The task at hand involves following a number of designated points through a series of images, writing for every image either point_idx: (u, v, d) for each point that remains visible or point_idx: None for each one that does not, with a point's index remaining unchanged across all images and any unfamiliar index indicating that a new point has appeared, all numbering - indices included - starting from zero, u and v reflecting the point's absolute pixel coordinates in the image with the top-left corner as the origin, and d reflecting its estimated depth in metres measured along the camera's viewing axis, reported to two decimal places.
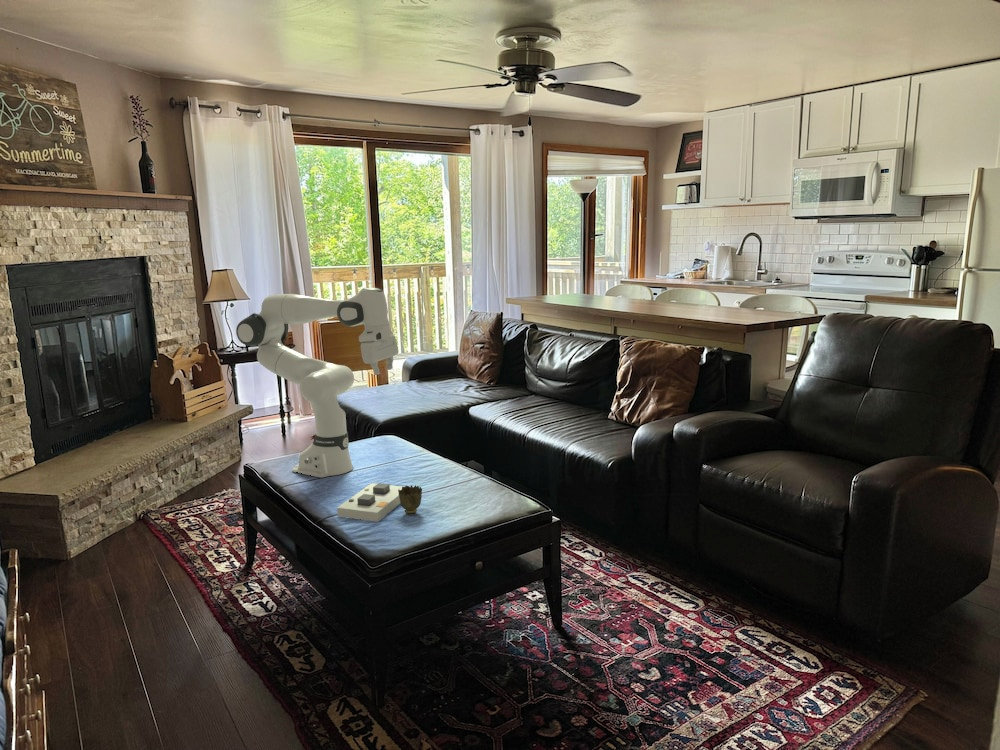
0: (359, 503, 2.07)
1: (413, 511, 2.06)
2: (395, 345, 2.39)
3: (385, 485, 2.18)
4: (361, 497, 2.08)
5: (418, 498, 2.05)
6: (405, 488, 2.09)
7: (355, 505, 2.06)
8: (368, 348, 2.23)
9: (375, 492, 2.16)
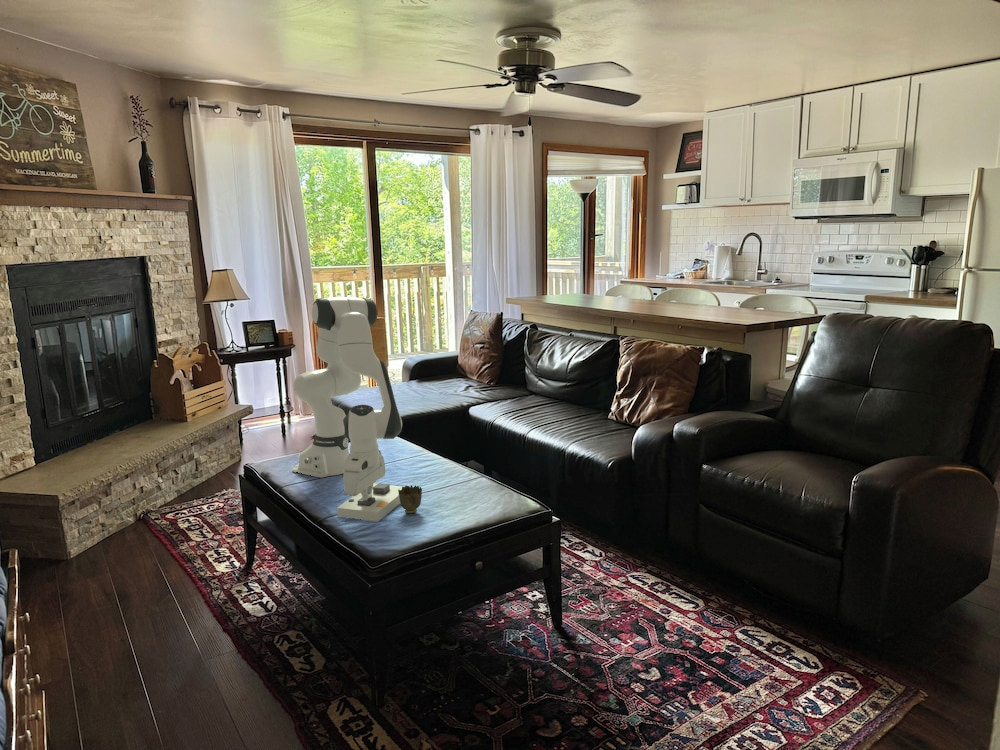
0: None
1: (413, 511, 2.06)
2: (382, 466, 2.13)
3: (385, 485, 2.18)
4: (361, 499, 2.08)
5: (418, 498, 2.05)
6: (405, 488, 2.09)
7: (355, 505, 2.06)
8: (352, 479, 1.97)
9: (375, 492, 2.16)
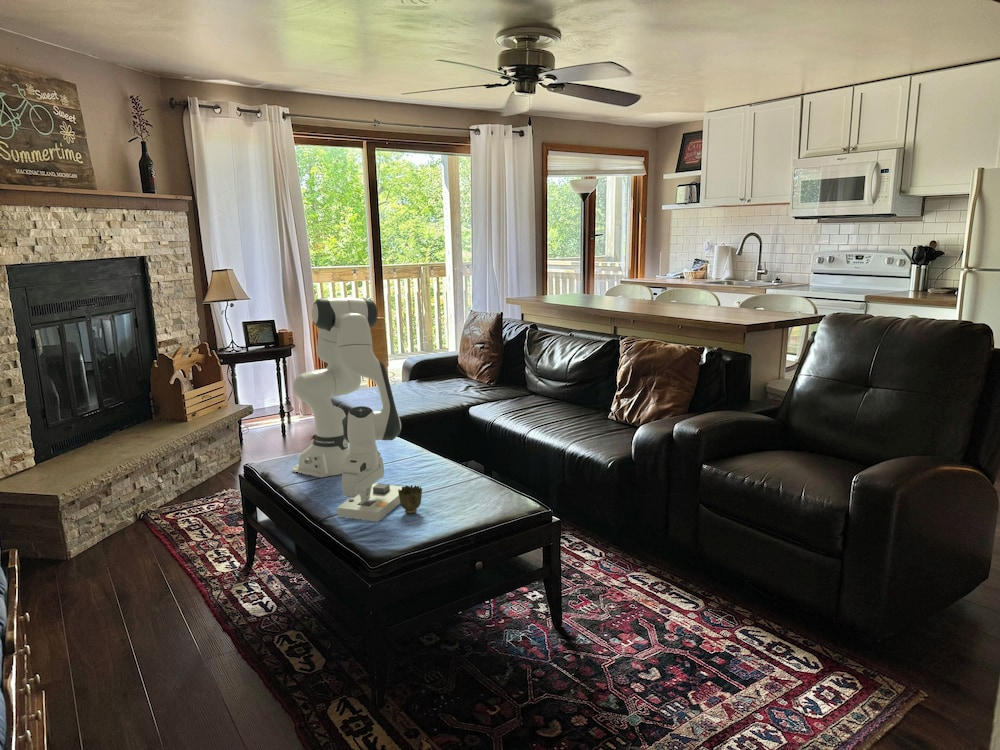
0: None
1: (413, 511, 2.06)
2: (381, 468, 2.14)
3: (385, 485, 2.18)
4: (361, 502, 2.08)
5: (418, 498, 2.05)
6: (405, 488, 2.09)
7: (355, 505, 2.06)
8: (350, 481, 1.97)
9: (375, 492, 2.16)
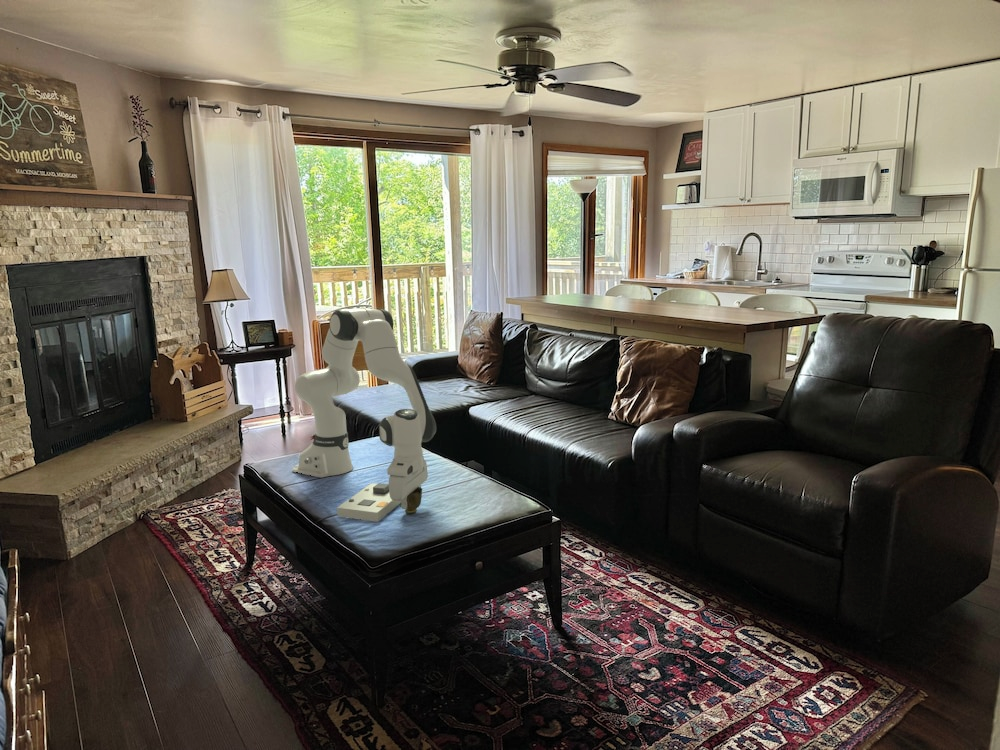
0: None
1: (413, 511, 2.06)
2: (425, 471, 2.12)
3: (385, 485, 2.18)
4: (361, 502, 2.08)
5: (419, 498, 2.05)
6: None
7: (355, 505, 2.06)
8: (397, 484, 1.96)
9: (375, 492, 2.16)
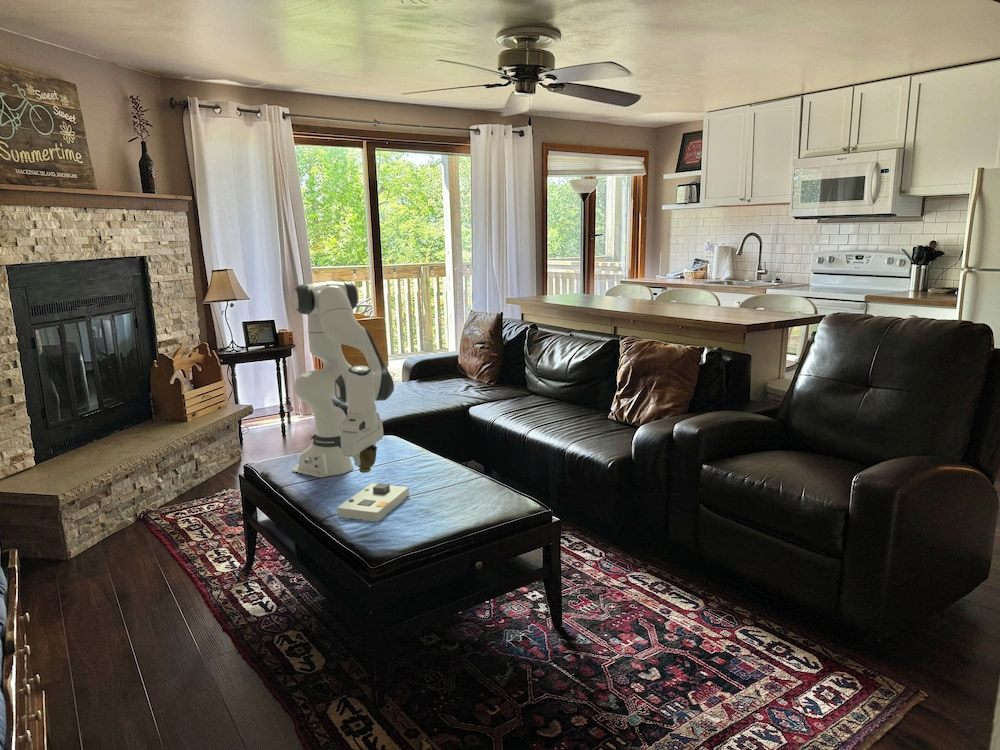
0: None
1: (367, 469, 2.05)
2: (380, 429, 2.11)
3: (385, 485, 2.18)
4: (361, 502, 2.08)
5: (372, 456, 2.04)
6: None
7: (355, 505, 2.06)
8: (349, 440, 1.95)
9: (375, 492, 2.16)
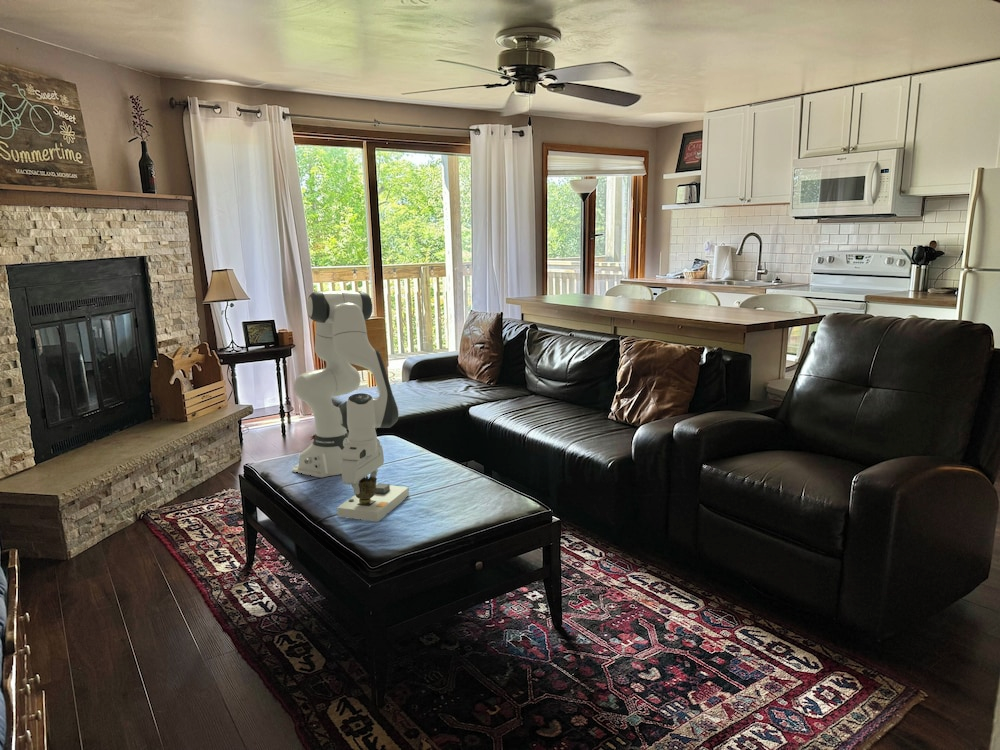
0: None
1: (367, 500, 2.06)
2: (381, 455, 2.13)
3: (385, 485, 2.18)
4: None
5: (372, 487, 2.05)
6: None
7: (355, 505, 2.06)
8: (350, 468, 1.96)
9: (375, 492, 2.16)
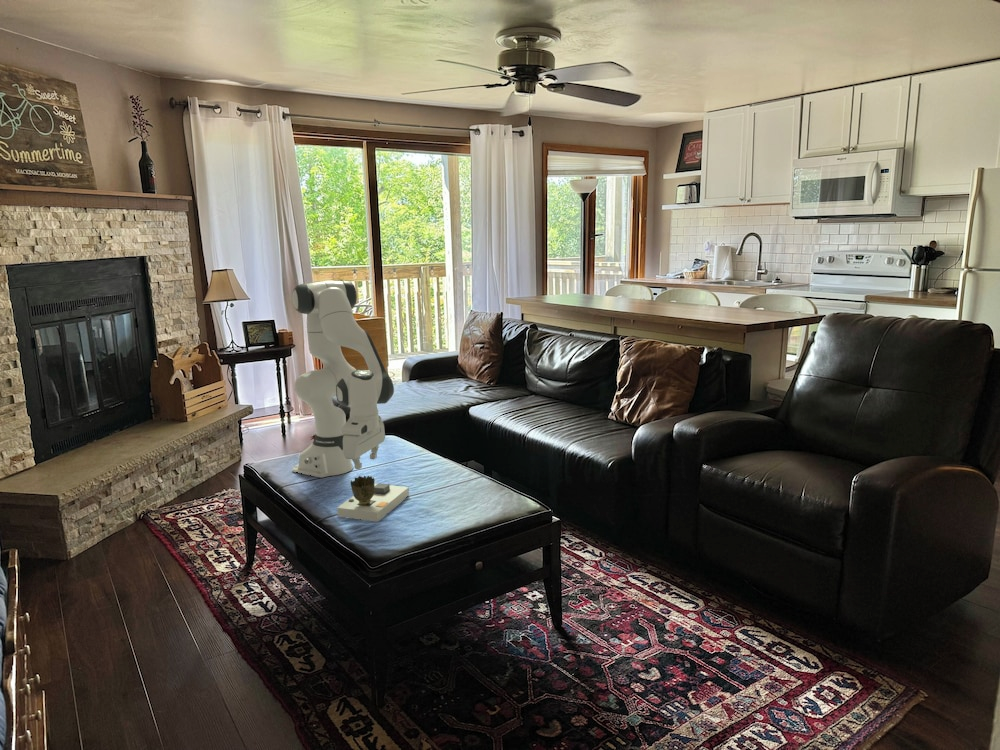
0: None
1: (366, 502, 2.06)
2: (382, 432, 2.15)
3: (385, 485, 2.18)
4: None
5: (371, 489, 2.04)
6: (358, 479, 2.08)
7: (355, 505, 2.06)
8: (351, 443, 1.98)
9: (375, 492, 2.16)
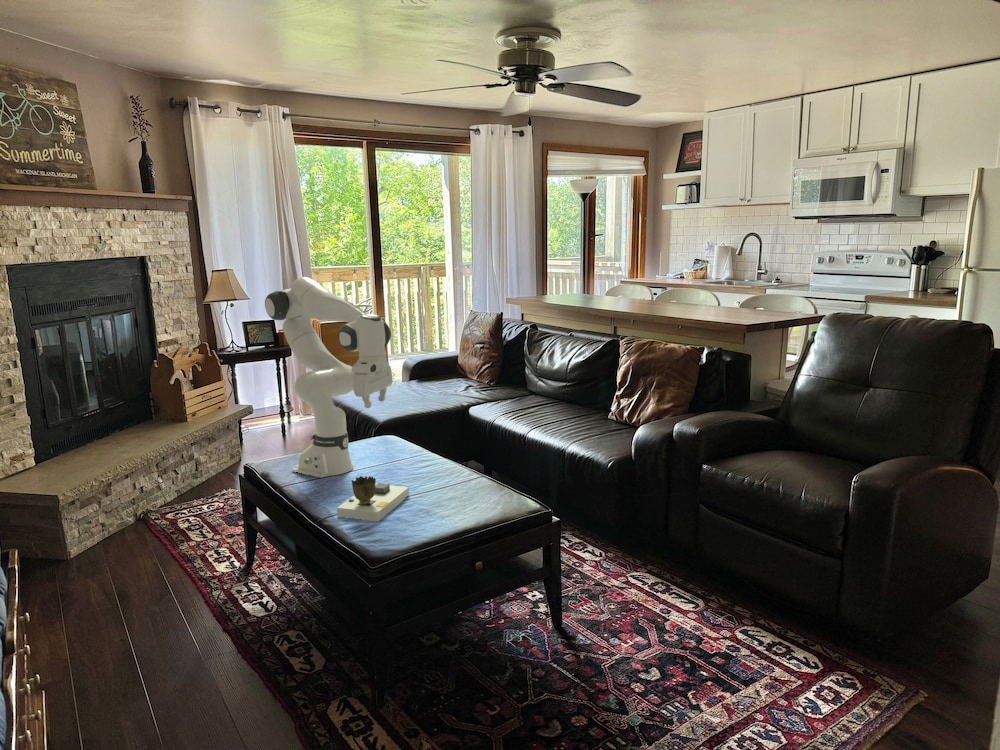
0: None
1: (366, 502, 2.06)
2: (390, 375, 2.24)
3: (385, 485, 2.18)
4: None
5: (372, 489, 2.04)
6: (359, 479, 2.09)
7: (355, 505, 2.06)
8: (361, 381, 2.08)
9: (375, 492, 2.16)
